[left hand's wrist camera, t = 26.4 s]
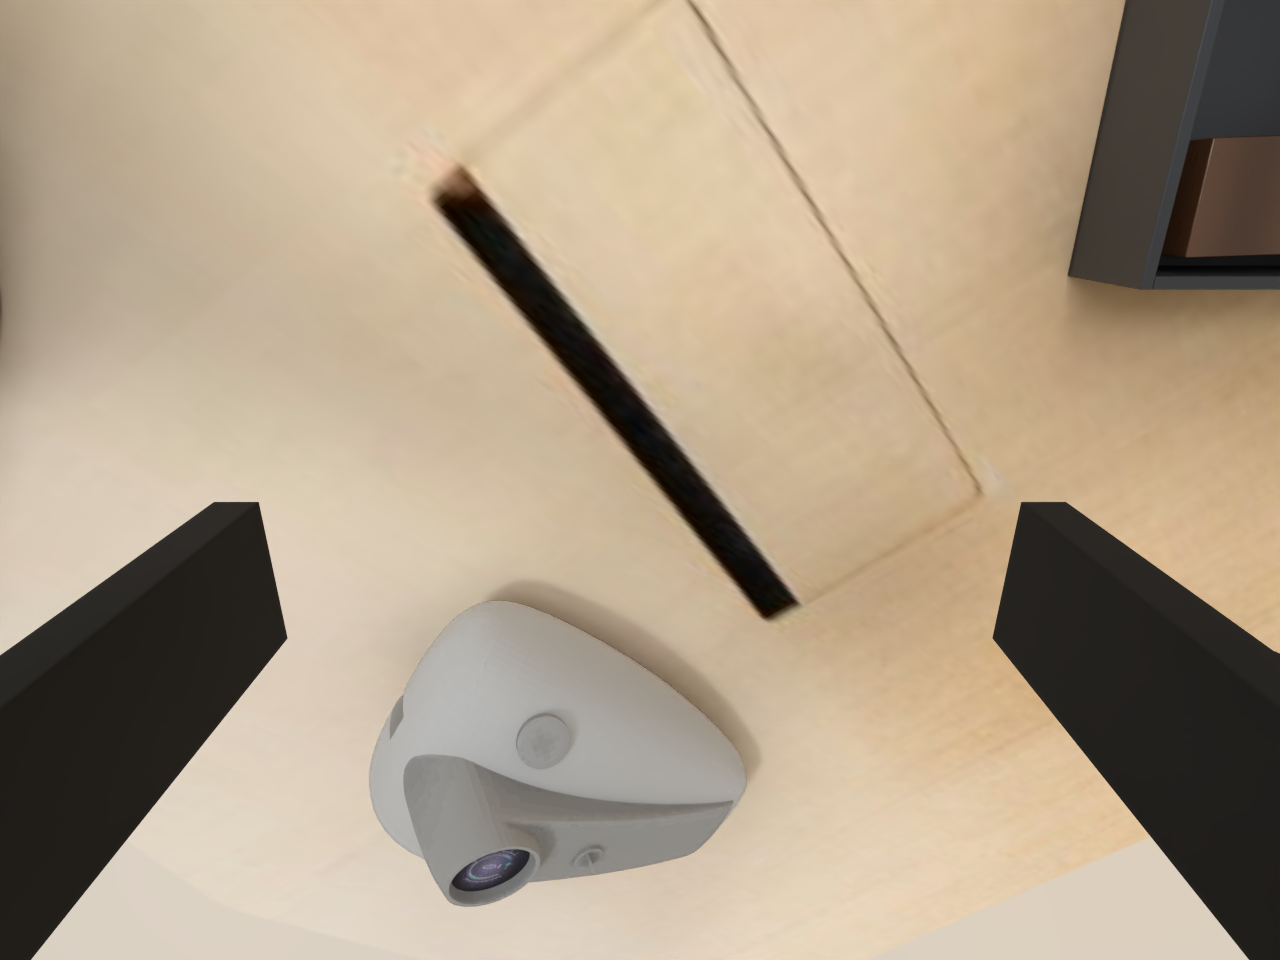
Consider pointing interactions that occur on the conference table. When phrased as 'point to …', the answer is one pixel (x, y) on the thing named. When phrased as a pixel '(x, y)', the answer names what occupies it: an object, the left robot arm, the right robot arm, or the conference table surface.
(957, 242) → the conference table surface
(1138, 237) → the tote
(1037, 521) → the left robot arm
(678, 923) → the conference table surface
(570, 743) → the projector
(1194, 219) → the walnut block
